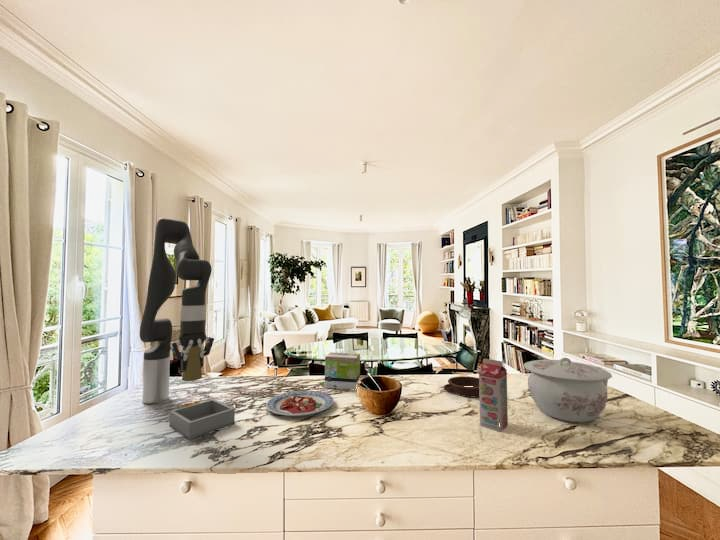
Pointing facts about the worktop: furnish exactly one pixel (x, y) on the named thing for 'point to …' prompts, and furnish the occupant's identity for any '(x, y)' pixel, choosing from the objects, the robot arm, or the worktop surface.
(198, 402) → the pastry
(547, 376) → the chamber pot
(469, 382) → the dish
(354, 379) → the tea box
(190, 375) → the cork
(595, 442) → the worktop surface
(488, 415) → the juice carton
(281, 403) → the ceramic plate
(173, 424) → the bin
